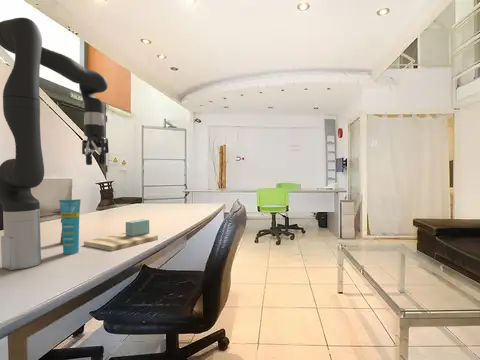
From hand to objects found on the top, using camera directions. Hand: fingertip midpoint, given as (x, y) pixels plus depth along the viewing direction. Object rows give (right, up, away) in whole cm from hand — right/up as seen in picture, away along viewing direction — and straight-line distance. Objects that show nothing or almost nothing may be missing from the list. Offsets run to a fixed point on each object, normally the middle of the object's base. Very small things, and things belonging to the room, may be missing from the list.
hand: (95, 164), depth 123 cm
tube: (-2, -33, -14) cm, 36 cm away
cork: (-12, -32, +3) cm, 35 cm away
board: (+10, -32, +2) cm, 34 cm away
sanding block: (+14, -30, +8) cm, 34 cm away
